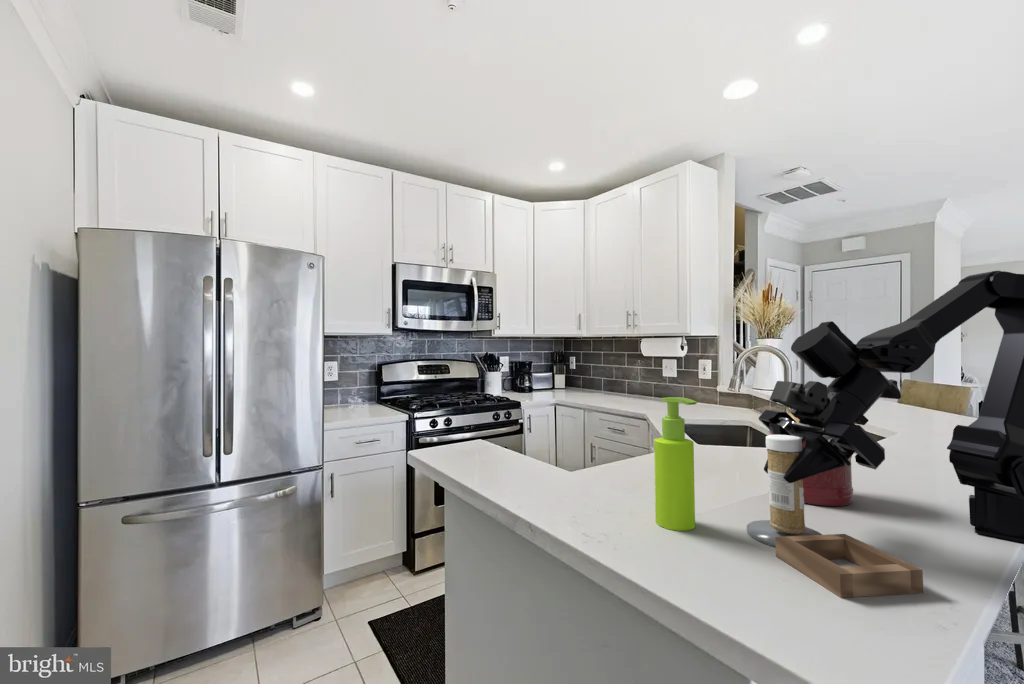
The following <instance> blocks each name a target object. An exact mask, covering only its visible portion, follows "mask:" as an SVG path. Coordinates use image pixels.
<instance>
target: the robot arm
mask: <svg viewBox="0 0 1024 684" xmlns="http://www.w3.org/2000/svg"><path fill="white" fill-rule="evenodd" d="M986 308H987V309H991V310H994V316H995V319H996V321H997V322H998V324H999V326H1000V327H1001V329H1002V330H1003V335H1002V338H1001V340H1000V343H999V347H998V351H997V354H996V357H995V361H994V364H993V368H992V370H991V375H990V378H989V381H988V384H987V388H986V391H985V394H984V398H983V400H982V404H981V407H980V410H979V414H978V417H977V419H976V420H974V421H973V422H972V423H970V424H969V425H963V424H956V426H955V427H954V428H953V429H952V430H953V431H952V438H951V441H950V443H949V444H948V446H947V447H946V449H947V450H948V451H949V455H948V460H949V462H950V463H951V465H952V466H953V469H954V471H955V474H956V476H957V478H958V481H959V483H960V485H963V486H970V487H973V490H974V491H973V492H974V493H973V494H970V495H968V507H969V510H968V511H969V524H970V525H971V526H972V527H974V533H975V534H980V535H984V536H990V537H995V538H997V539H998V538H1000V539H1005V540H1009V541H1015V542H1019V543H1023V544H1024V273H1015V272H1009V271H1007V270H1006V271H1004V270H1002V271H1001V270H992V271H988V272H981V273H975V274H971V275H968V276H965V277H964V278H962V279H960V280H959V282H958V284H957V285H955V286H953V287H952V288H951V289H949V290H947V291H946V292H945V293H943V294H942V295H941V296H939V297H938V298H936V299H935V300H933V301H932V302H931V303H929V304H928V305H926V306H925V307H923V308H922V309H920V310H918V312H916V313H915V314H913V315H911V316H910V317H909V318H907V319H906V320H904V321H902V322H900V323H897V324H894V325H890V326H888V327H885V328H882V329H879V330H877V331H874V332H872V333H870V334H867V335H865V336H863V337H862V338H860V339H859V340H858V341H857V342H856V343H854V342H853V341H852V340H851V339H850V338H849V337H848V336H847V335H846V334H845V333H844V332H843V331H842V330H841V329H840V327H839V326H838V325H837V324H836V323H835V322H834V321H831V320H830V321H823V322H822V321H821V322H820V323H819V325H818V326H817V327H815V328H812V329H810V330H809V331H807V332H805V333H804V334H802V335H799V336H798V337H797V338H796V339H795V340H794V342H793V343H792V344H791V346H790V350H791V352H792V353H793V354H794V355H796V356H797V357H798V358H799V360H801V361H802V362H803V363H804V364H805V365H806V366H807V367H808V368H809V369H810V370H811V371H812V372H814V374H815V375H816V376H817V377H819V378H821V379H827V378H830V379H833V380H832V381H831V382H830V383H829V385H826V384H824V383H822V382H821V381H814V380H813V381H812V380H809V381H807V382H806V383H805V384H803V383H800V382H799V383H798V382H793V381H785V380H777V381H776V383H775V385H774V388H773V390H772V392H771V395H770V397H769V401H771V402H773V403H774V404H776V403H778V404H781V405H783V406H785V407H787V408H790V409H791V411H790V412H787V411H782V410H777V409H765V410H763V412H762V413H761V414H760V415H759V416H758V420H759V422H761V423H762V424H763V425H764V426H765V427H766V428H767V429H768V430H770V431H771V432H772V433H773V434H774V435H790V436H796V437H799V438H801V440H802V443H803V442H804V441H805V440H806V443H805V448H803V447H802V451H801V453H800V454H799V456H798V457H797V458H796V460H795V461H794V462H793V464H792V465H791V466H790V468H789V469H788V471H787V472H786V474H785V475H784V479H785V480H786V481H787V482H788V483H793V482H796V481H798V480H801V479H804V478H807V477H810V476H813V475H816V474H819V473H822V472H825V471H829V470H832V469H836V468H839V467H843V466H847V467H849V466H851V467H852V462H851V463H850V462H849V461H848V459H849V458H850V457H851V456H852V457H853V455H854V454H856V455H855V456H854V458H855V459H854V460H855V463H856V464H858V465H859V466H862V467H865V468H868V469H869V468H870V469H873V470H877V469H878V468H879V467H880V466H881V464H883V462H884V461H885V460H886V451H885V450H886V449H885V448H884V446H882V445H881V444H880V443H879V442H878V441H877V440H876V439H875V438H874V437H873V436H871V434H870V433H869V432H868V431H866V429H864V427H862V426H866V424H867V423H868V422H869V419H868V418H867V416H865V414H867V412H868V411H869V410H870V409H871V407H873V405H874V404H875V403H876V402H877V401H878V400H879V399H880V398H881V399H882V398H883V399H891V400H892V399H893V400H900V399H901V398H902V394H901V391H900V389H899V387H898V381H897V380H895V379H894V380H890V379H888V378H887V377H886V376H885V375H884V374H883V373H894V374H895V373H899V374H910V373H913V372H916V371H917V370H919V369H920V368H921V367H922V366H923V365H924V364H925V363H926V362H927V361H928V360H929V359H930V358H931V357H932V356H933V355H934V353H935V350H936V345H937V343H938V342H939V341H940V340H941V339H942V338H944V337H946V336H947V335H948V334H950V333H951V332H952V331H954V330H955V329H957V328H958V327H960V326H961V325H963V324H964V323H966V322H967V321H968V320H970V319H972V318H973V317H974V316H976V315H977V314H978V313H980V312H981V311H983V310H984V309H986ZM788 413H791V414H792V415H793V416H794V417H796V418H798V419H799V420H800V421H799V423H797V422H796V421H795V420H794V419H793V418H792V417H791V416H790V415H789V414H788ZM763 470H764V472H765V473H766V474H767V475H768V458H767V459H766V461H765V464H764V467H763Z"/></svg>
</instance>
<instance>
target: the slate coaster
mask: <svg viewBox="0 0 1024 684" xmlns="http://www.w3.org/2000/svg"><path fill="white" fill-rule="evenodd" d="M770 520H771V519H769V520H768V519H765V520H764V519H763V520H761V519H760V520H754V521H751V522H749V523H748V524H747V525H746V533H747V535H748V536H749V537H751V538H752V539H754V540H755V541H757V542H760V543H762V544H764V545H767V546H769V547H773V548H776V543H775V537H785V536H807V535H823V533H821V532H819V531H817V530H815V529H813V528H810V527H807V526H806V531H805V532H803V533H800V534H791V533H785V532H781V531H778V530H776V529H774V528H773V527H771V525H770Z"/></svg>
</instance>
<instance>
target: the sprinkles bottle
mask: <svg viewBox="0 0 1024 684" xmlns="http://www.w3.org/2000/svg"><path fill="white" fill-rule="evenodd" d="M765 447H766V451H767V459H768V474H767V483H768V503H769V512H770V516H769V517H770V519H769V520H770V525H771V527H773V528H774V529H776V530H778V531H781V532H785V533H791V534H800V533H803V532H805V531H806V527H807V526H806V524H805V523H806V520H805V503H804V492H803V480H802V479H801V480H798V481H796V482H793V483H788V482H787V481H786V480H785V479H784V475H785V474H786V472H787V471H788V469H789V468H790V466H791V465H792V464H793V462H794V461H795V460H796V458H797V457H798V456H799V454H800V453H801V451H802V440H801V438H799V437H796V436H790V435H771V434H768V435H766V436H765Z"/></svg>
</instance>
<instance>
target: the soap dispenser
mask: <svg viewBox="0 0 1024 684" xmlns="http://www.w3.org/2000/svg"><path fill="white" fill-rule="evenodd" d="M661 400H662V402H667V403H666V404H667V405H666V406H667V411H666V412H667V415H665V416H663V417H661V432H662V433H661V434H662V436H661V437H656V438H654V440H653V441H654V442H653V446H654V448H653V449H654V496H655V497H654V498H655V501H654V502H655V503H654V506H655V524H656V525H658V526H659V525H660V527H661V526H662V527H661V528H663V527H664V529H666V528H667V530H670V531H681V532H684V531H685V532H686V531H691V530H693V529H694V528H696V506H695V505H696V501H695V456H694V455H695V454H694V446H695V445H694V441H693V440H691V439H688V438H686V437H685V436H686V432H685V431H686V430H685V429H686V427H685V425H686V424H685V418H683V417H682V416H681V415H680V414H679V413H680V411H679V408H680V407H679V403H681V404H682V405H683V404H684V405H687V406H690V405H696V404H698V401H696V400H694V399H691V398H688V397H679V396H677V397H676V396H675V397H674V396H673V397H662V398H661Z"/></svg>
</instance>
